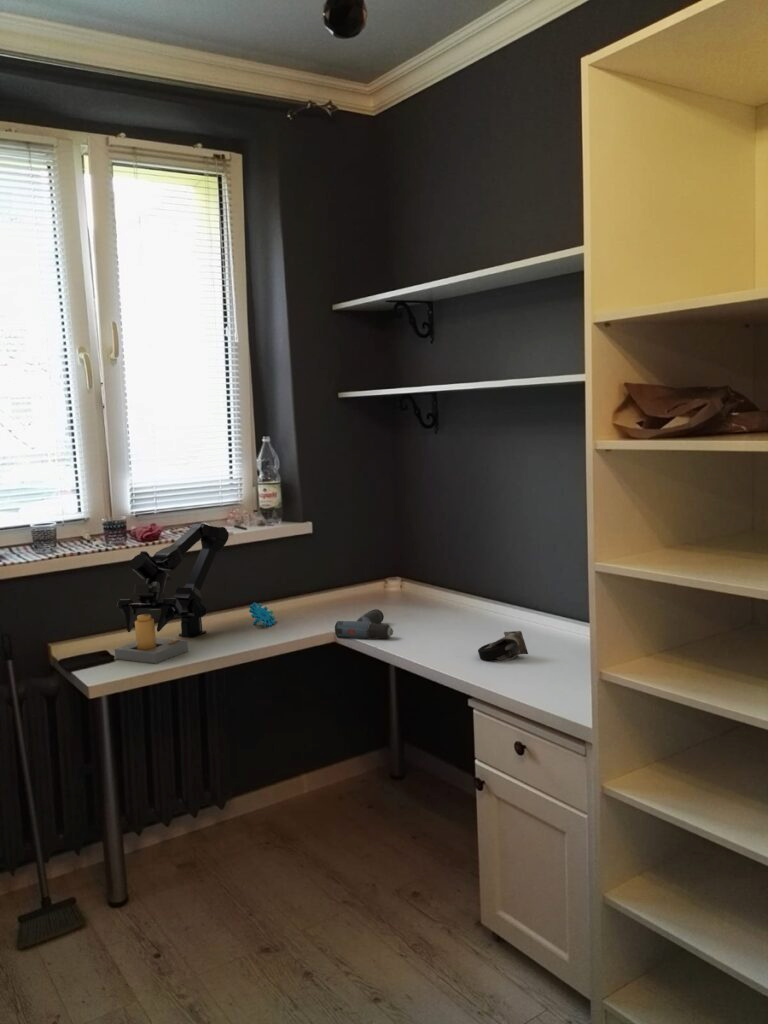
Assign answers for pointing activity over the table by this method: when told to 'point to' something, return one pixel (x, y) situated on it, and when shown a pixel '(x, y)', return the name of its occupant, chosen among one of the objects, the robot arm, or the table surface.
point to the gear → (261, 614)
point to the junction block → (152, 651)
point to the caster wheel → (504, 647)
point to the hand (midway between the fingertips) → (143, 631)
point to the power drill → (364, 627)
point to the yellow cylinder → (145, 632)
